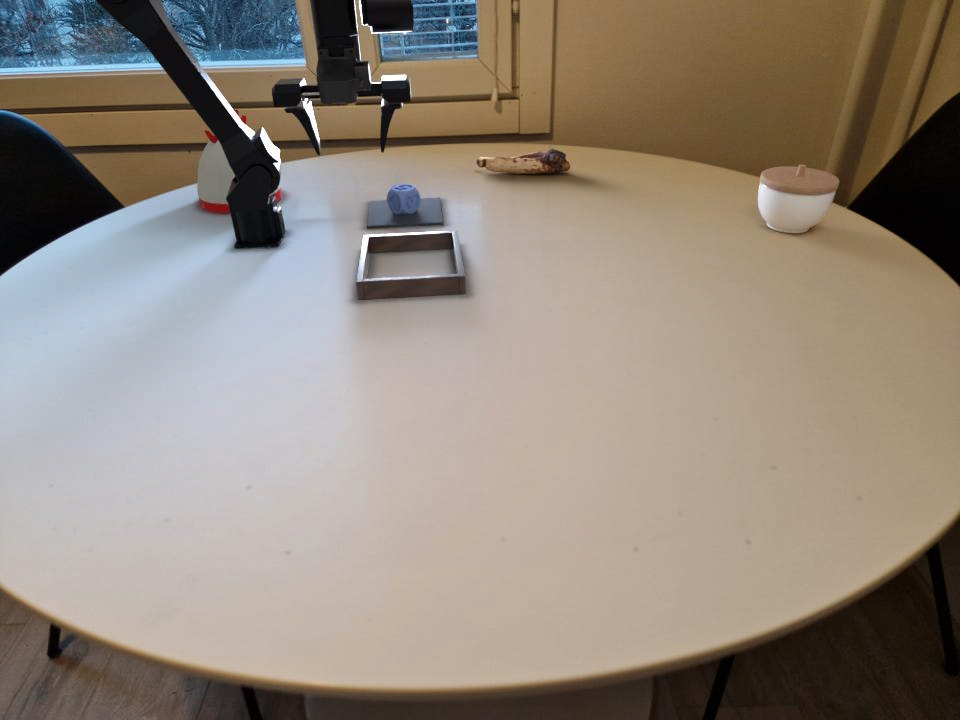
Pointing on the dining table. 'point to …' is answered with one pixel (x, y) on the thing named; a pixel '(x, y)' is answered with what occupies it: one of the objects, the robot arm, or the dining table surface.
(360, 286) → the rectangular frame
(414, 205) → the decorative dice
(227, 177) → the kitchen timer
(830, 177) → the trinket box
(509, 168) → the overripe banana
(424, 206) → the mat
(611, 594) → the dining table surface
